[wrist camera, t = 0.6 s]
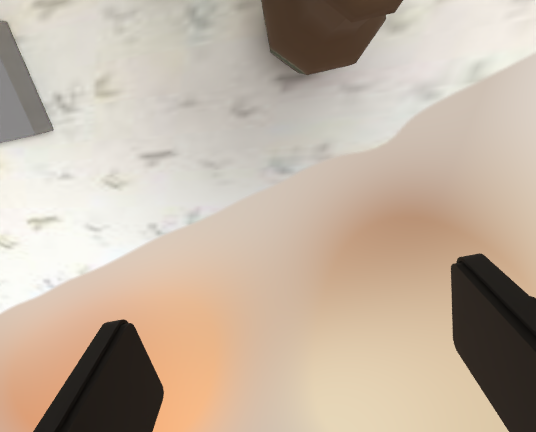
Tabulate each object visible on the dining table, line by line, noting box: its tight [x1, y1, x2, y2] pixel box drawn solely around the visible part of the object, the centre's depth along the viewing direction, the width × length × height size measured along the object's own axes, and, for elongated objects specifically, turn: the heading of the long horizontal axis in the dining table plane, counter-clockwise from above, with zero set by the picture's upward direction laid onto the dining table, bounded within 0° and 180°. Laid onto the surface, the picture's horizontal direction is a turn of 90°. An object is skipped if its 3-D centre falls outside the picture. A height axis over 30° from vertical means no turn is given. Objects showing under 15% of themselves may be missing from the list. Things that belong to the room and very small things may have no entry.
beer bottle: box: [261, 0, 403, 75], centre depth 22 cm, size 8×8×24 cm
